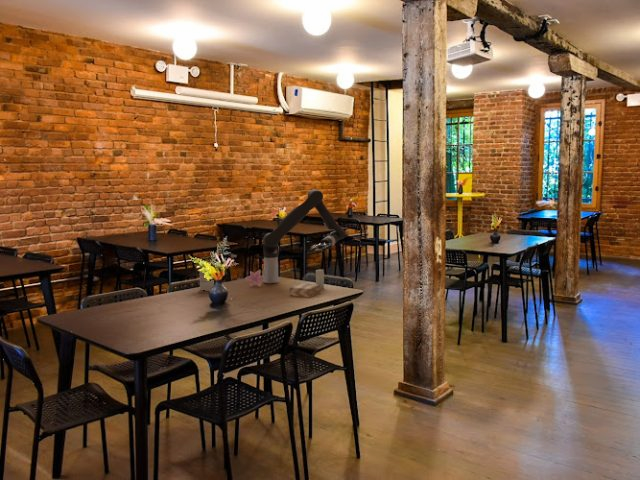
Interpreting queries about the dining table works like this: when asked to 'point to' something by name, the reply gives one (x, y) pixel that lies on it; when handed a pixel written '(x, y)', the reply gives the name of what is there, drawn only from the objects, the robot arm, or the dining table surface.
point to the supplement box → (205, 283)
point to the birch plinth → (304, 290)
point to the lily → (255, 278)
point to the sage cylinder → (320, 278)
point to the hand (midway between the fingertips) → (317, 250)
